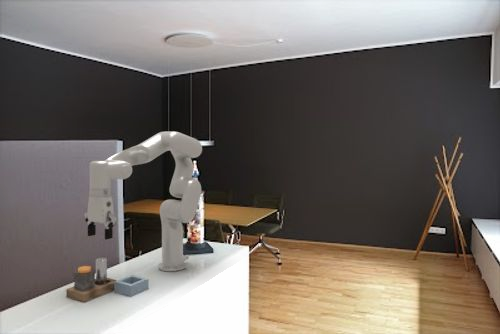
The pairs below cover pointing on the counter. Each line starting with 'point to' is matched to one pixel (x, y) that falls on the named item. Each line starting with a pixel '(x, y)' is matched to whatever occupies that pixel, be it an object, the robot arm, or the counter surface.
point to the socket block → (88, 287)
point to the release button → (84, 269)
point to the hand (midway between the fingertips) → (100, 237)
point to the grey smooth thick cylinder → (101, 271)
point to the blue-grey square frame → (131, 285)
